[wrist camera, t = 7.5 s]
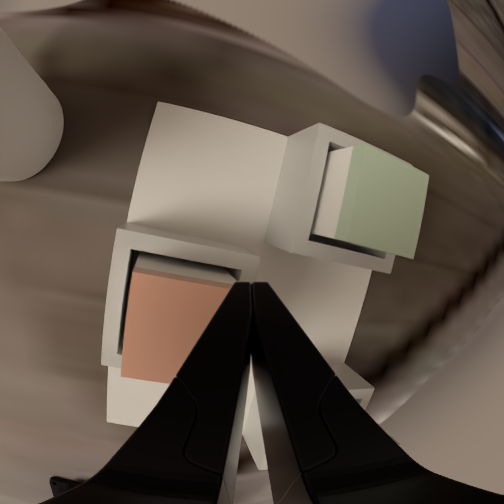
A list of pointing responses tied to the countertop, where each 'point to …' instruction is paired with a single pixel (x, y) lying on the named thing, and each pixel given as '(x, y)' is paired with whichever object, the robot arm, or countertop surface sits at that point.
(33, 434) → the countertop surface
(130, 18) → the countertop surface
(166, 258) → the key terracotta
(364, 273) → the keypad
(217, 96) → the countertop surface
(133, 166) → the countertop surface
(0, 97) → the mug
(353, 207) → the key sage
